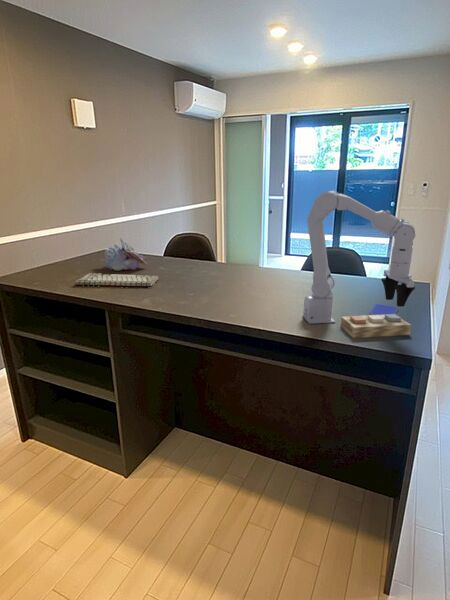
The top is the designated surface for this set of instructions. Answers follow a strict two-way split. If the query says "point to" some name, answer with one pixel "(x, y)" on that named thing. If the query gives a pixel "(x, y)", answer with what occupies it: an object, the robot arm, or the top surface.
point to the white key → (375, 319)
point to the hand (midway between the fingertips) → (394, 302)
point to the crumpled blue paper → (122, 257)
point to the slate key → (392, 318)
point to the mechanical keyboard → (115, 281)
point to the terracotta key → (358, 320)
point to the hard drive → (383, 310)
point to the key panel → (375, 328)
